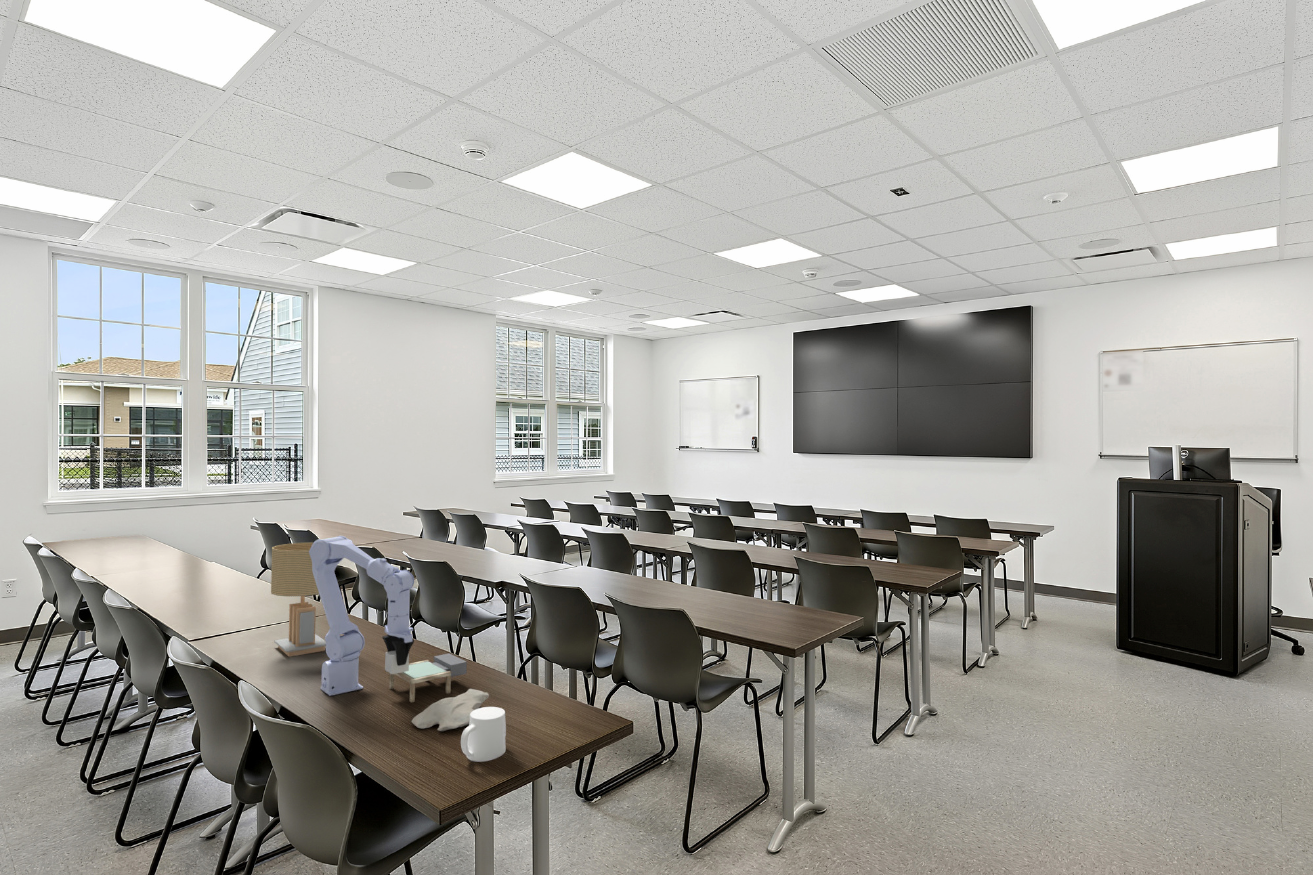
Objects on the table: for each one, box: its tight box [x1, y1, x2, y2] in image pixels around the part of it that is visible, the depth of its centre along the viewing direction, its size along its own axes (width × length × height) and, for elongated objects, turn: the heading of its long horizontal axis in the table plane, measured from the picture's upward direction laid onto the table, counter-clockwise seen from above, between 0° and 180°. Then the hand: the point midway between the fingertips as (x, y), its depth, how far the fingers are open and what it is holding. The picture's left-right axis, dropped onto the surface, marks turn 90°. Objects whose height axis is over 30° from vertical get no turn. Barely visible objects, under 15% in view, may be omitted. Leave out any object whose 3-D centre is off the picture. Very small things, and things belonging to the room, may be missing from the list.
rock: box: [411, 688, 490, 732], centre depth 183 cm, size 21×5×15 cm
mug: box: [460, 706, 507, 763], centre depth 163 cm, size 12×9×8 cm
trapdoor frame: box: [388, 659, 452, 703], centre depth 204 cm, size 12×15×6 cm
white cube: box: [384, 651, 410, 675], centre depth 199 cm, size 5×5×5 cm
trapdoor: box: [402, 653, 468, 679], centre depth 207 cm, size 16×12×4 cm
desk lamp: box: [270, 542, 326, 658], centre depth 242 cm, size 20×20×35 cm
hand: (397, 662), depth 199 cm, fingers closed on white cube, 5 cm apart
